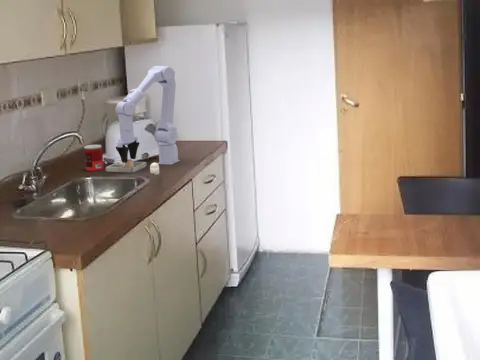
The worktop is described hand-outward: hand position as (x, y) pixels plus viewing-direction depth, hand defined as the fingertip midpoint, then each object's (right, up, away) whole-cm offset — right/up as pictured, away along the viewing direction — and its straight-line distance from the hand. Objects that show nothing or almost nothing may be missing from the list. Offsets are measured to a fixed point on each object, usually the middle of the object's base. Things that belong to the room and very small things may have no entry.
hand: (129, 160), depth 294 cm
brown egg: (0, -4, +1) cm, 4 cm away
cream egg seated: (-4, -3, +9) cm, 10 cm away
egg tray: (-2, -4, +5) cm, 7 cm away
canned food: (-16, -4, +6) cm, 18 cm away
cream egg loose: (+12, -6, -4) cm, 14 cm away
